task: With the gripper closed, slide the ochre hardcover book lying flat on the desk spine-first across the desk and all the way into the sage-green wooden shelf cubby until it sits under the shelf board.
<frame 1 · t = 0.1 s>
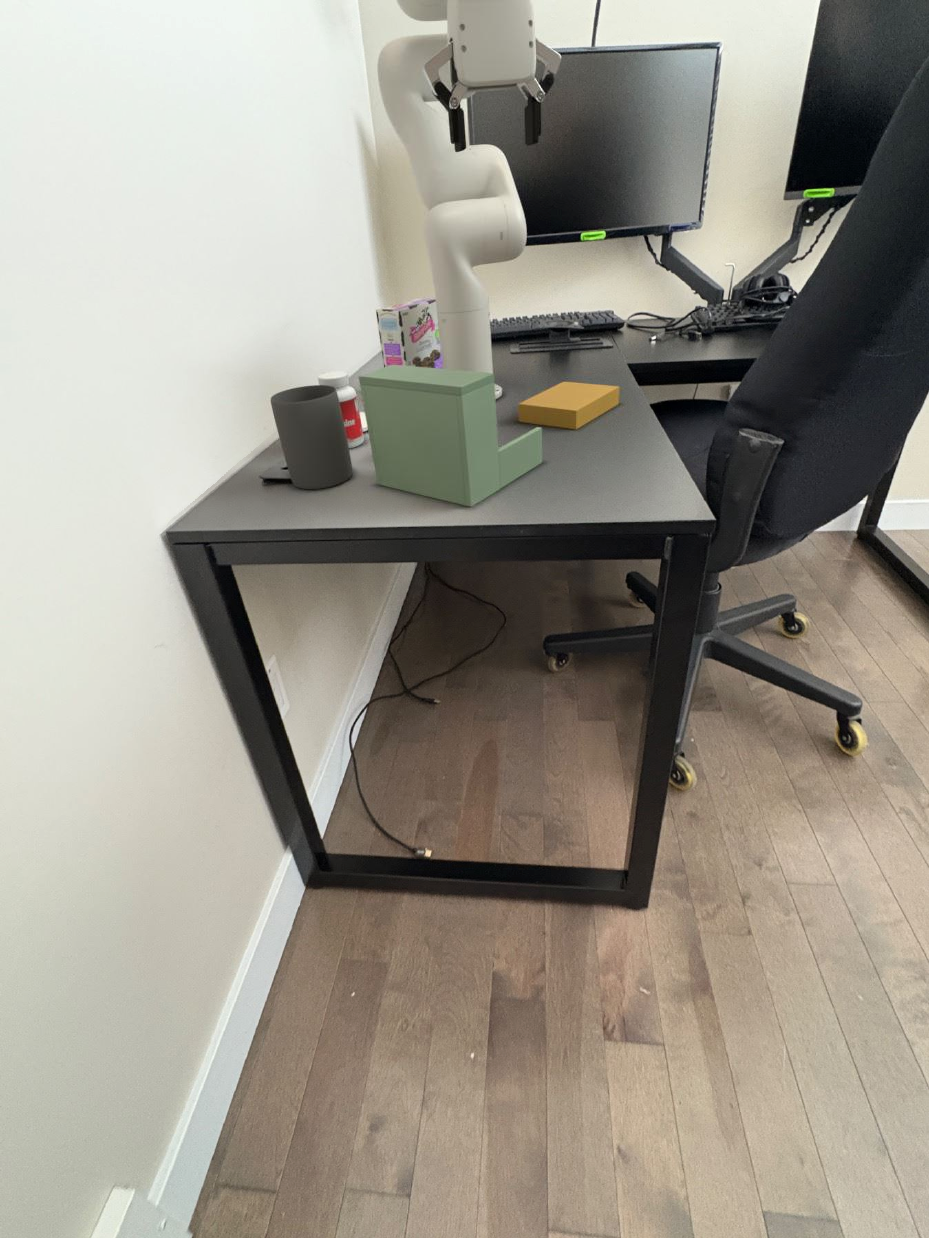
hand: (496, 147, 77), 37 cm above the table, tool pointing down, fingers open, 9 cm apart
book: (569, 412, 104), on the table
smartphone: (350, 423, 110), on the table
pill bottle: (346, 445, 100), on the table
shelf: (460, 473, 85), on the table
mug: (315, 476, 90), on the table
candy box: (419, 392, 125), on the table
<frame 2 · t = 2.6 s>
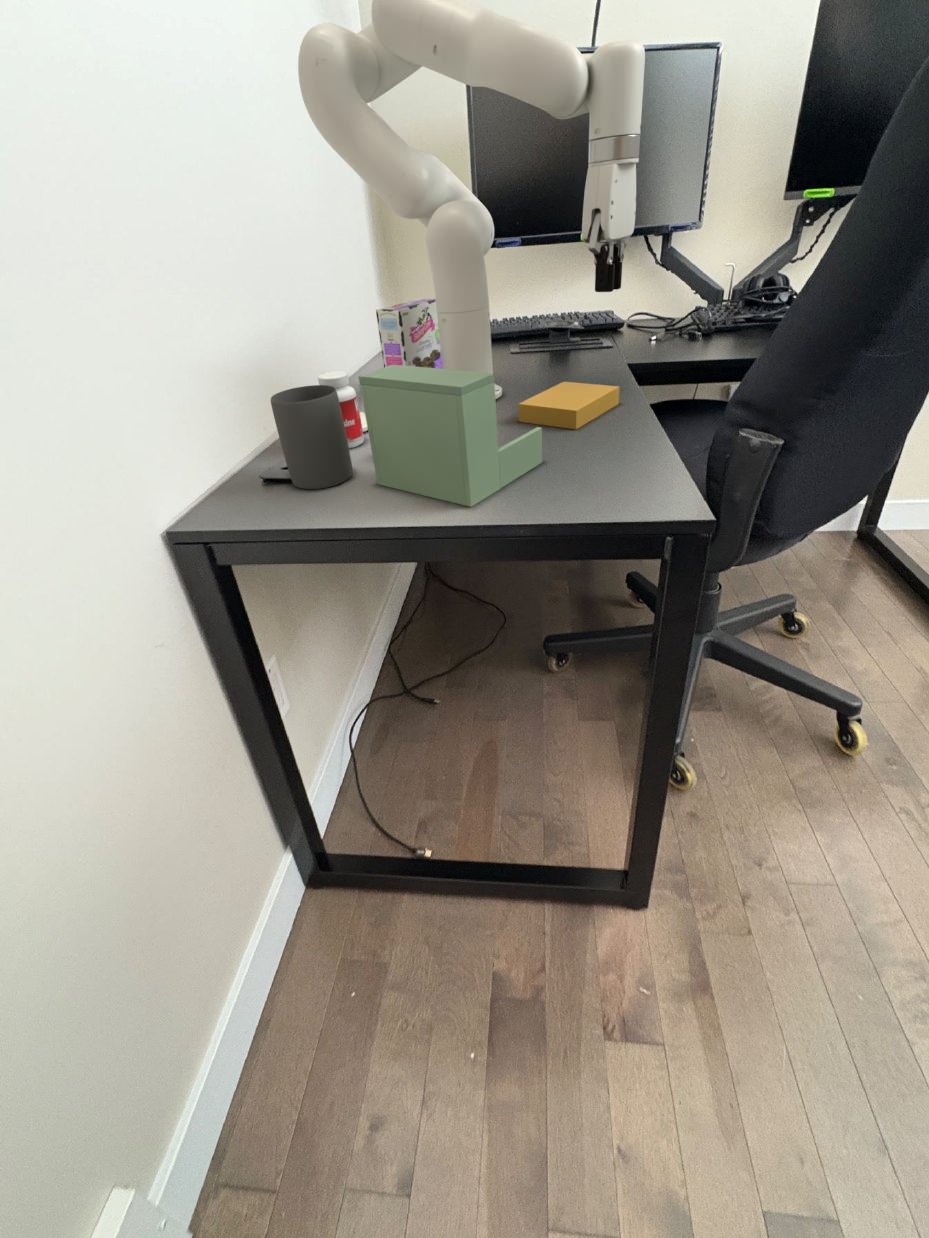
hand: (607, 289, 101), 17 cm above the table, tool pointing down, fingers closed
nothing on the table moved.
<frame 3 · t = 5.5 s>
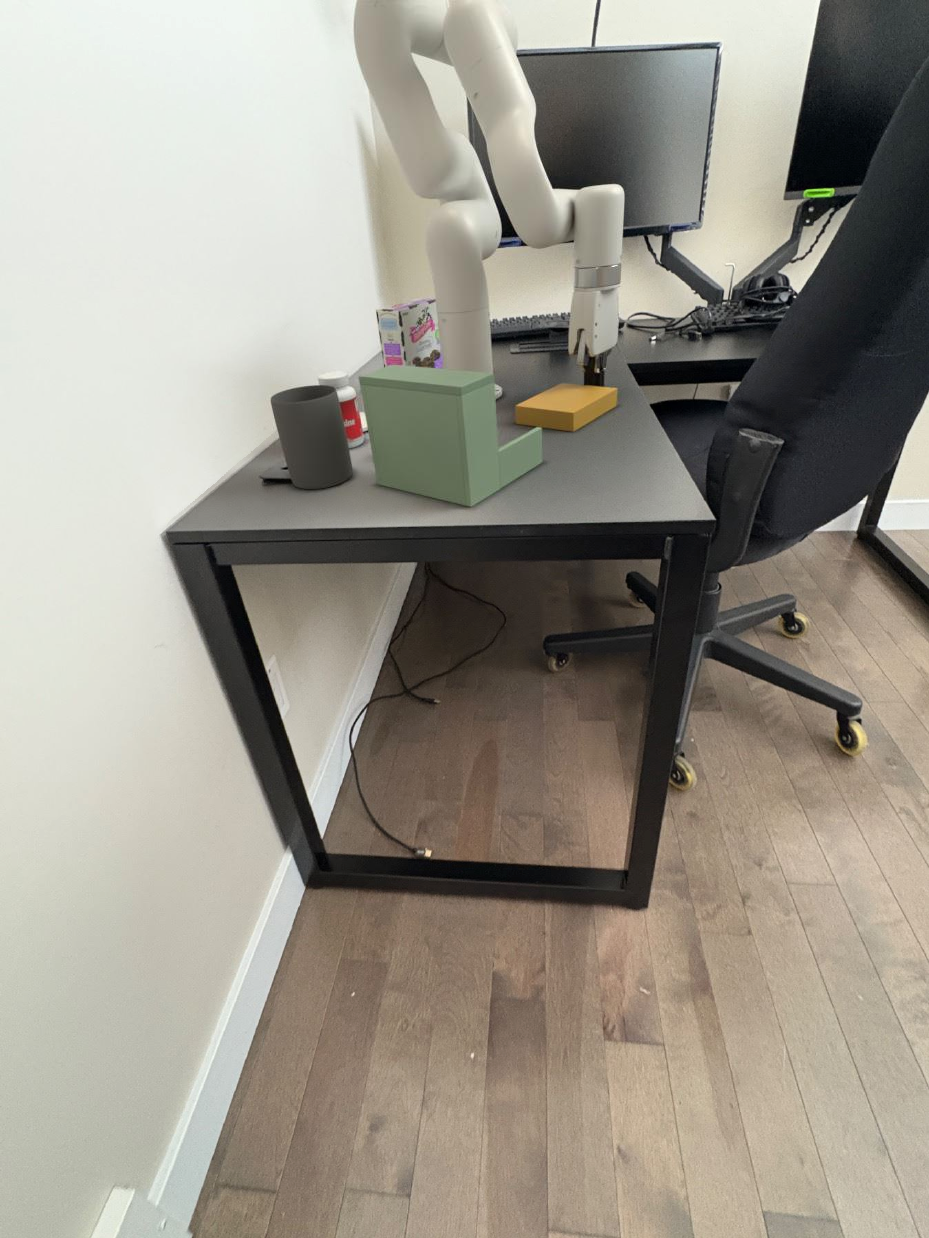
hand: (593, 394, 108), 1 cm above the table, tool pointing down, fingers closed
book: (567, 414, 103), on the table, touching gripper
everything else where it was.
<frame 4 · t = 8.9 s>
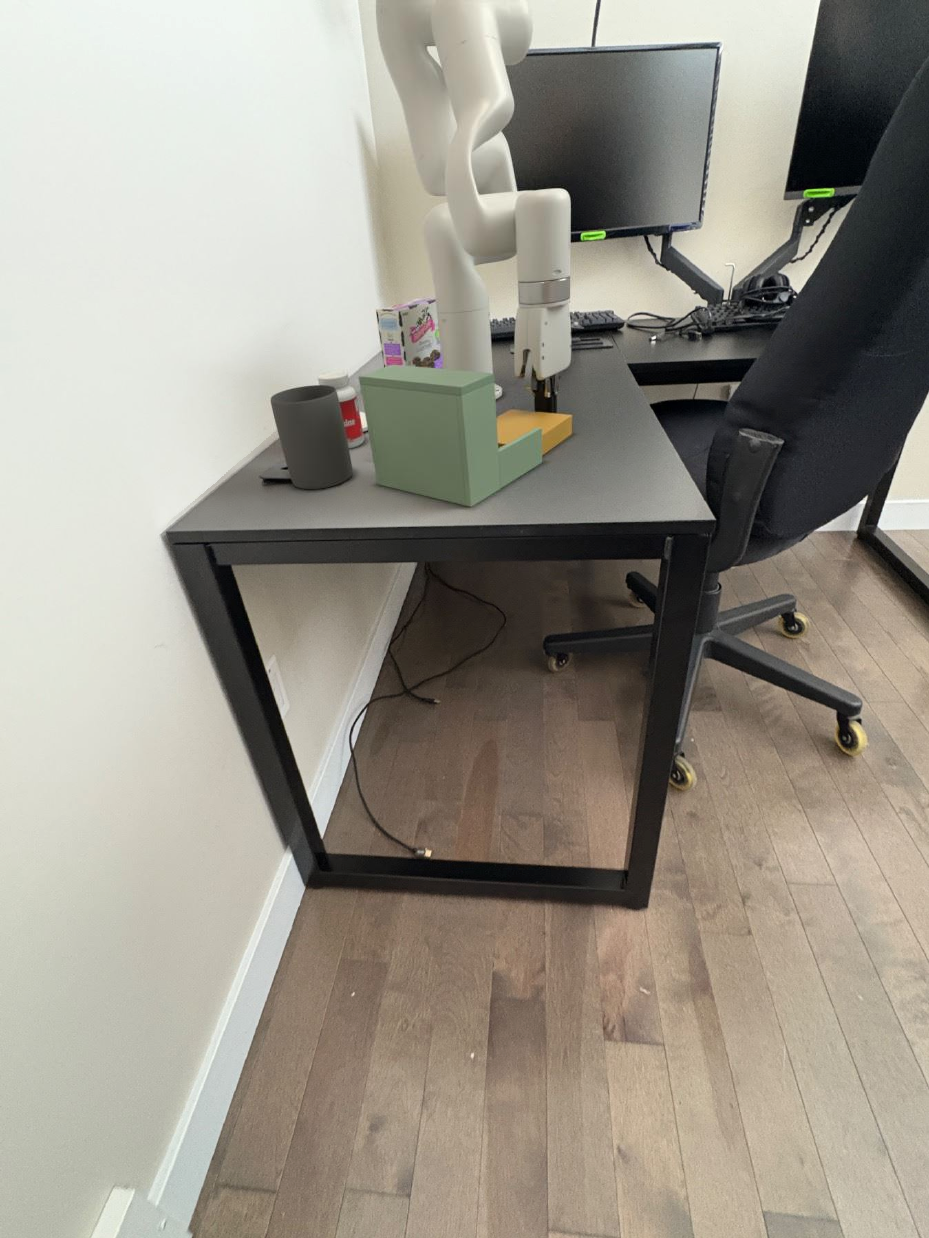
hand: (545, 420, 97), 1 cm above the table, tool pointing down, fingers closed
book: (518, 445, 92), on the table, touching gripper
everything else where it was.
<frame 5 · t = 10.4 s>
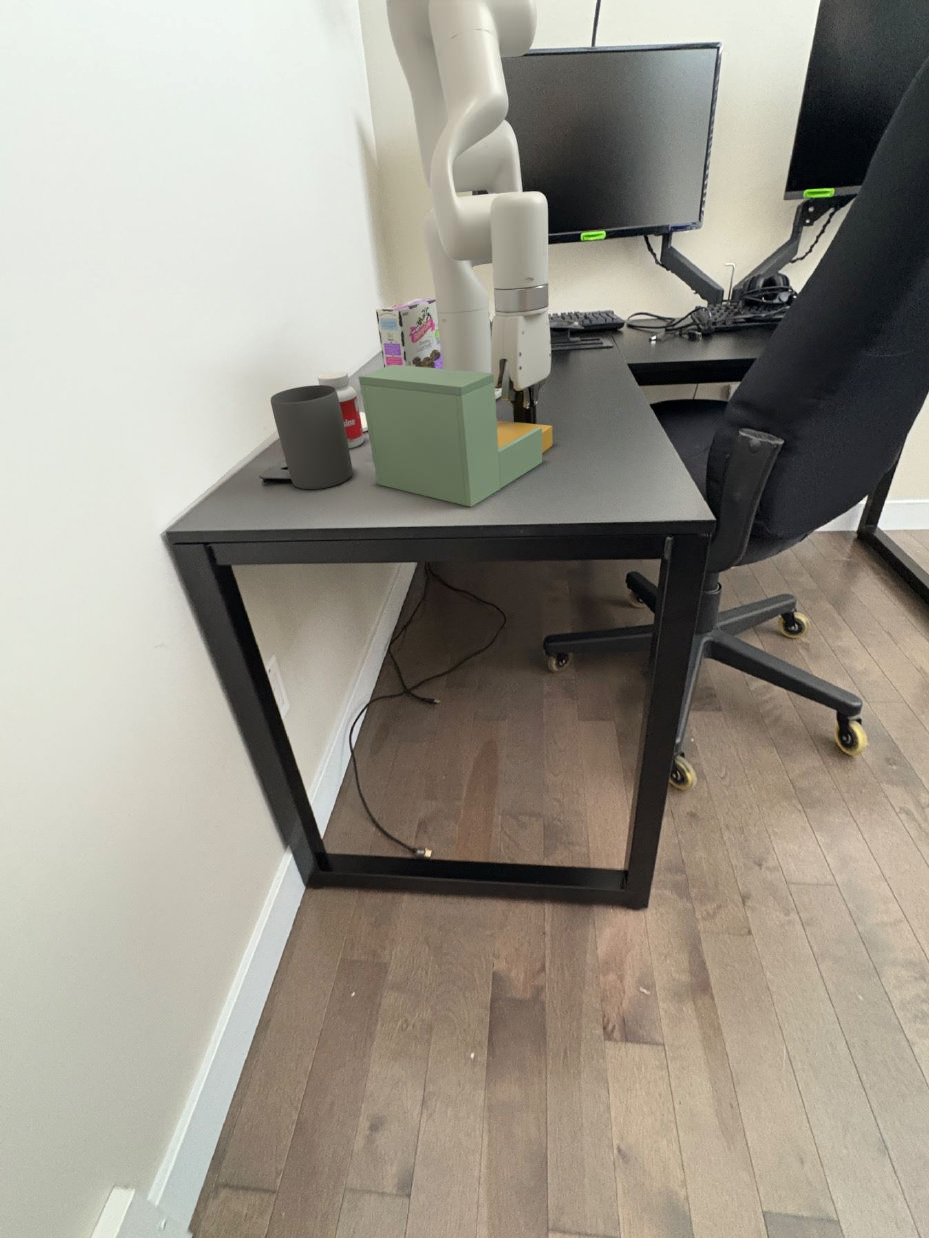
hand: (525, 431, 94), 1 cm above the table, tool pointing down, fingers closed
book: (496, 458, 88), on the table, touching gripper
everything else where it was.
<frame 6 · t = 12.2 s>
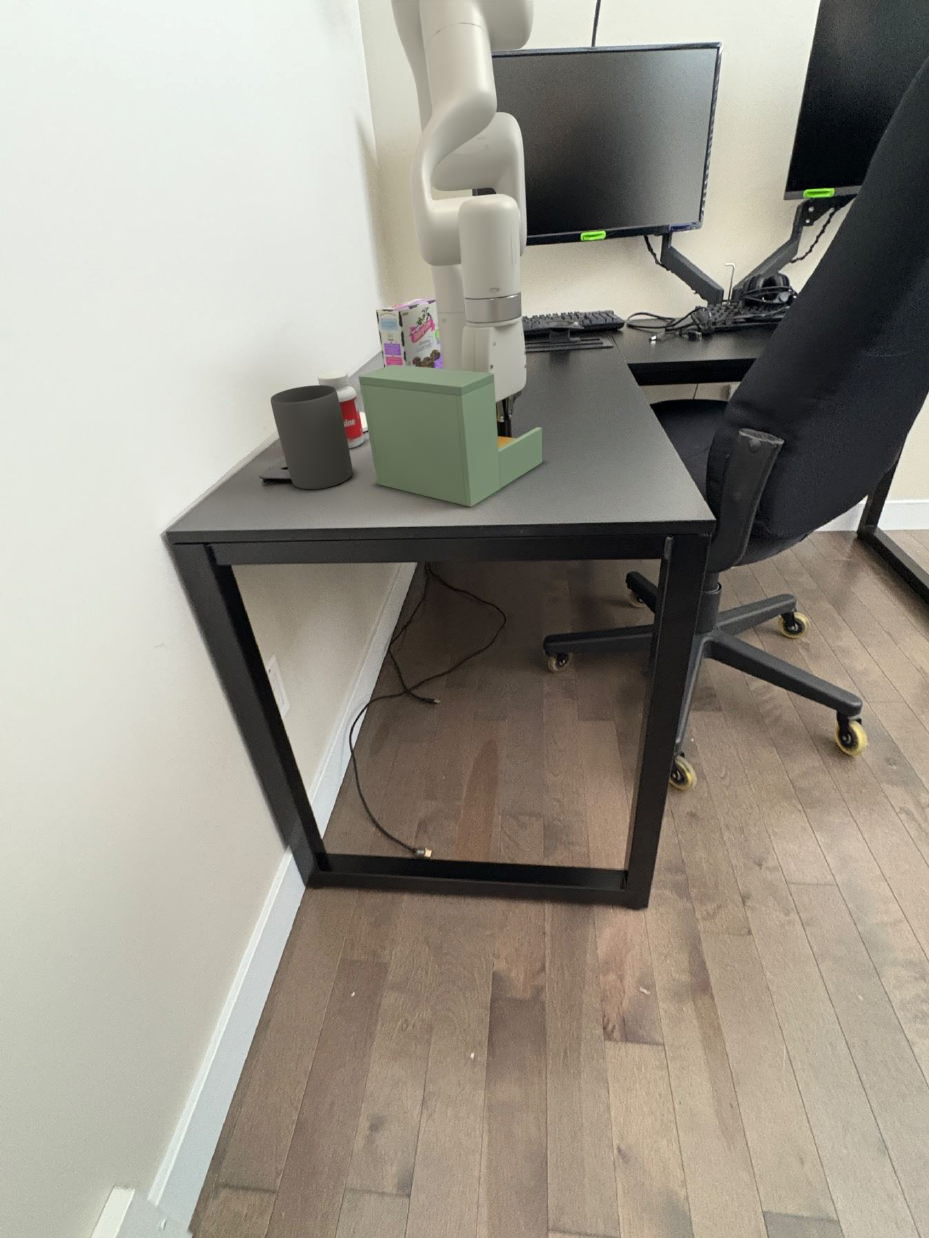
hand: (500, 445, 90), 1 cm above the table, tool pointing down, fingers closed
book: (469, 473, 84), on the table, touching gripper, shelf
everything else where it was.
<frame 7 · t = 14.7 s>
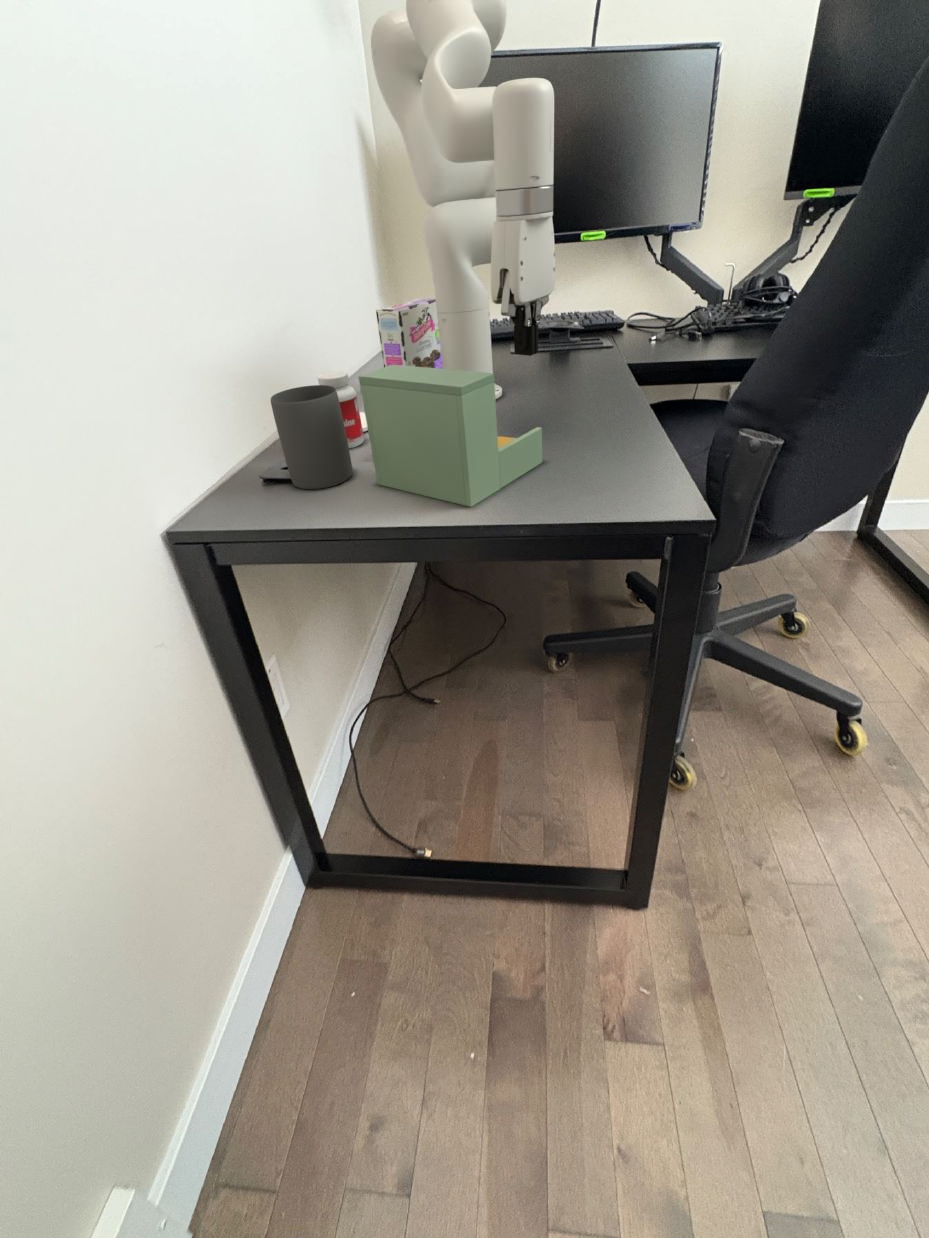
hand: (526, 353, 90), 12 cm above the table, tool pointing down, fingers closed
book: (469, 473, 84), on the table
everything else where it was.
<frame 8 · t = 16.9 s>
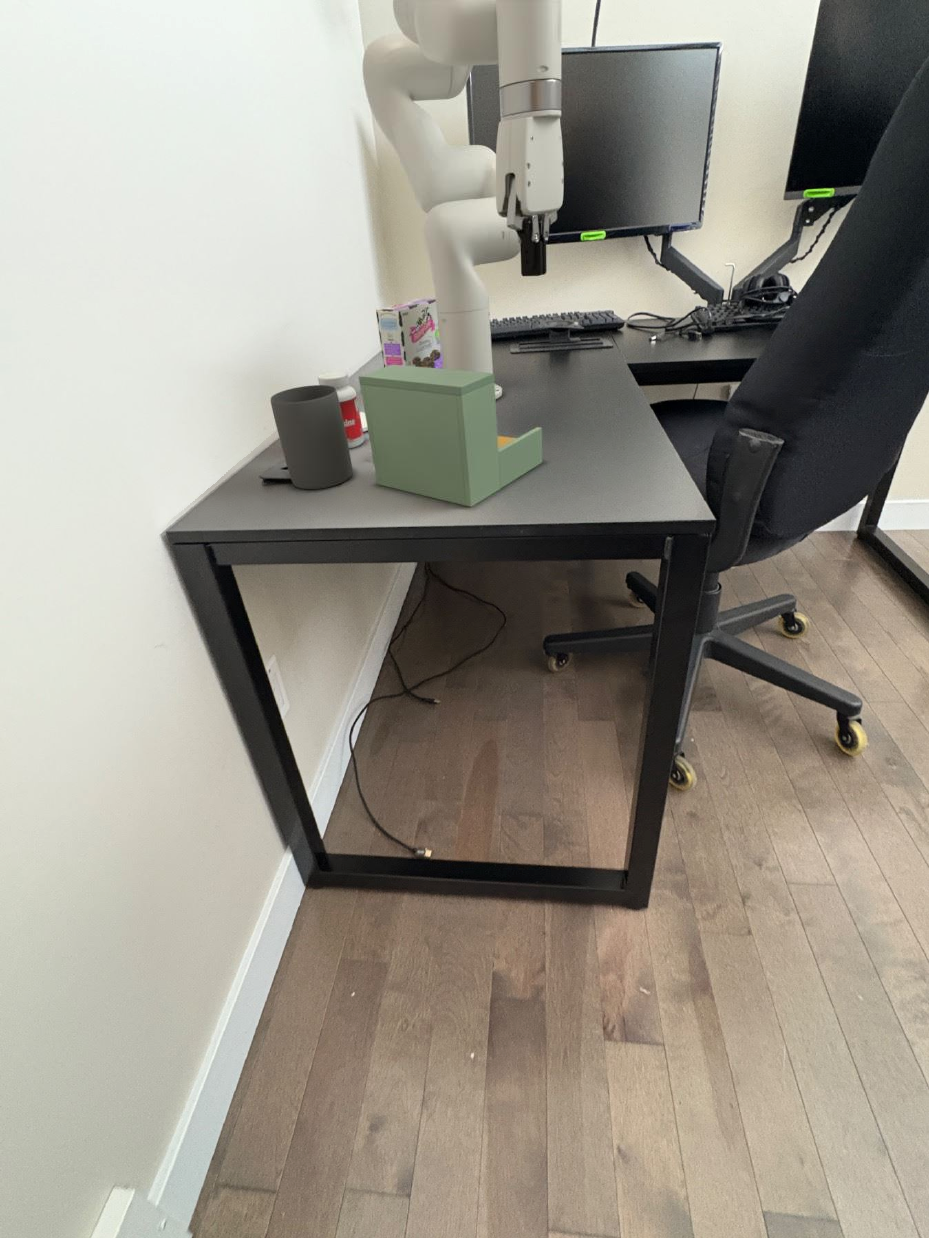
hand: (533, 275, 84), 22 cm above the table, tool pointing down, fingers closed
nothing on the table moved.
at the end: book 1.3 cm from the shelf (horizontally); book tilted 0° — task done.
